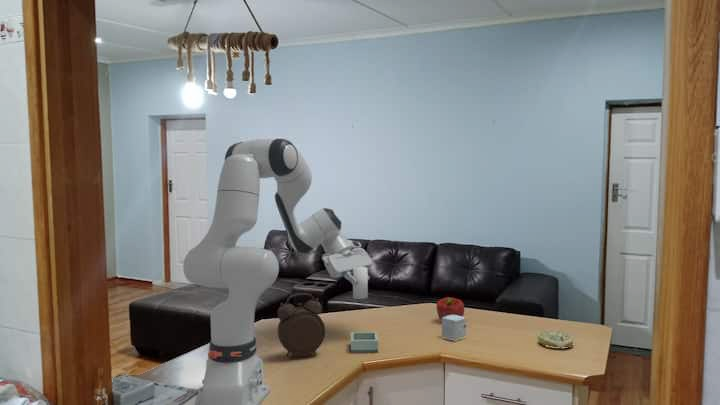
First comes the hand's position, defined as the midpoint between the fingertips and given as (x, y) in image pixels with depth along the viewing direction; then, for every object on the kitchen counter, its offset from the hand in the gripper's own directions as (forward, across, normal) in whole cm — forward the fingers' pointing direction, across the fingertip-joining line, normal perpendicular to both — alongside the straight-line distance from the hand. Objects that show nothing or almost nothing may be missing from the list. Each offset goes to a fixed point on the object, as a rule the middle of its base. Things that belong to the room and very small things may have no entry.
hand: (361, 281), depth 180 cm
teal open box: (+19, -7, +10) cm, 22 cm away
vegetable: (+25, +35, +4) cm, 43 cm away
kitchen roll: (+3, 0, +4) cm, 5 cm away
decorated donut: (+53, +33, -24) cm, 67 cm away
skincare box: (+32, +20, -3) cm, 37 cm away
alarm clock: (+10, -24, +18) cm, 32 cm away
